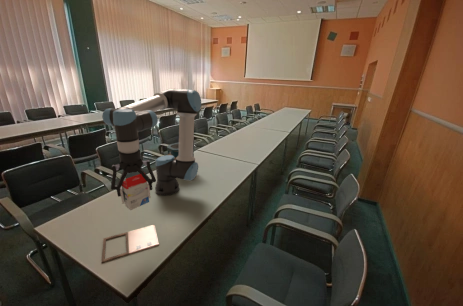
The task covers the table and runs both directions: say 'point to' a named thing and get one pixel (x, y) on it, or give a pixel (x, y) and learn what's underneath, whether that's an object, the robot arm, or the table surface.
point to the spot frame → (116, 255)
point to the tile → (142, 239)
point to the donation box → (176, 149)
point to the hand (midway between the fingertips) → (136, 199)
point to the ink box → (135, 191)
